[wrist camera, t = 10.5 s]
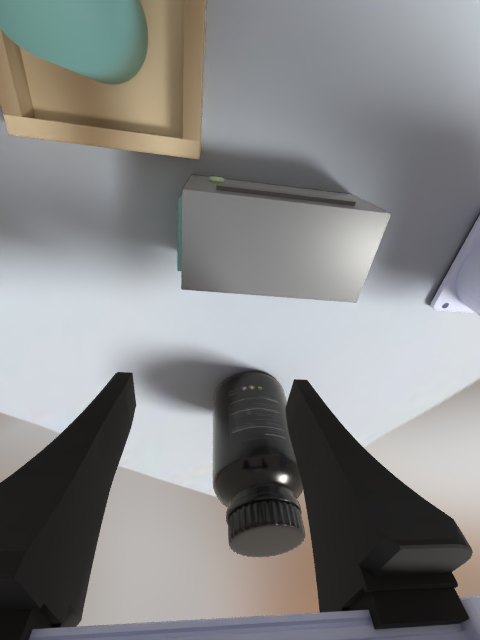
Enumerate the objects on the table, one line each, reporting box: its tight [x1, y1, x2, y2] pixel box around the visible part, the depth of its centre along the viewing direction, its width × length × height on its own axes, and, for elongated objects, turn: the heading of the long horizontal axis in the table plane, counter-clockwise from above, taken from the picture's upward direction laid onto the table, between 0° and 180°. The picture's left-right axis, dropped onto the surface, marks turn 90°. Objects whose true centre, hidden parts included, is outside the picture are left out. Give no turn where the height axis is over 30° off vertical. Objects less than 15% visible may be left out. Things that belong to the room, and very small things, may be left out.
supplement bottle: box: [213, 372, 305, 557], centre depth 23 cm, size 7×7×12 cm
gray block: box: [178, 175, 391, 303], centre depth 17 cm, size 10×5×5 cm, turn 83°
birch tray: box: [0, 0, 206, 159], centre depth 13 cm, size 9×9×2 cm
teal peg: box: [0, 0, 148, 85], centre depth 11 cm, size 4×4×6 cm
